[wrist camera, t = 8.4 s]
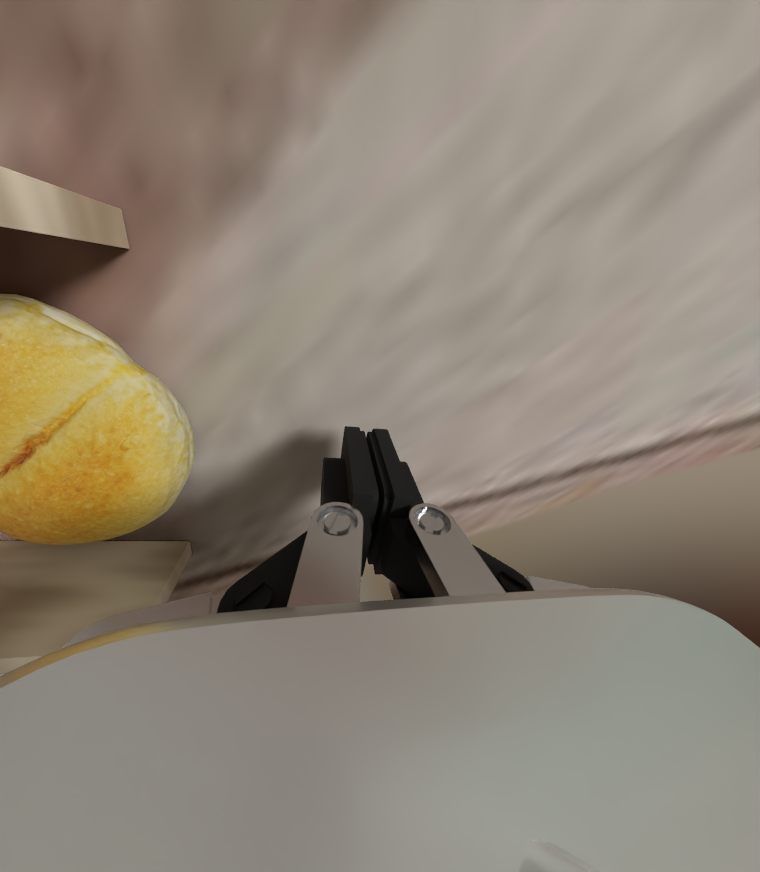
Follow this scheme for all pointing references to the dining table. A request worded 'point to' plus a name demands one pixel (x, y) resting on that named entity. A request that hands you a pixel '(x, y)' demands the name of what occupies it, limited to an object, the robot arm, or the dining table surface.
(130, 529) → the bread roll
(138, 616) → the robot arm
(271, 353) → the dining table surface
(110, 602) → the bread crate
